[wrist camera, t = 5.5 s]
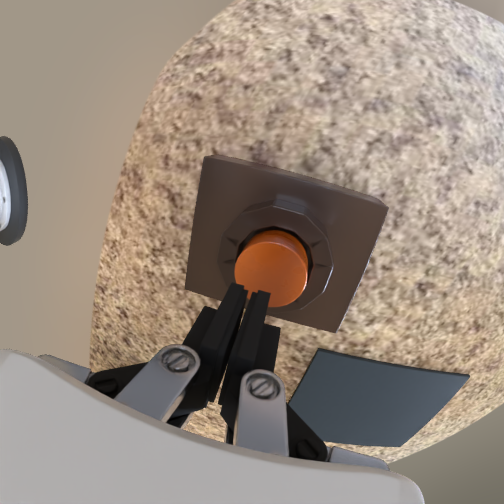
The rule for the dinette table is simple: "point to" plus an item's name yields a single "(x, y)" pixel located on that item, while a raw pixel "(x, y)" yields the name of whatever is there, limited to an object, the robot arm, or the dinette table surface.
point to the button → (273, 267)
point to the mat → (370, 399)
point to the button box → (287, 220)
